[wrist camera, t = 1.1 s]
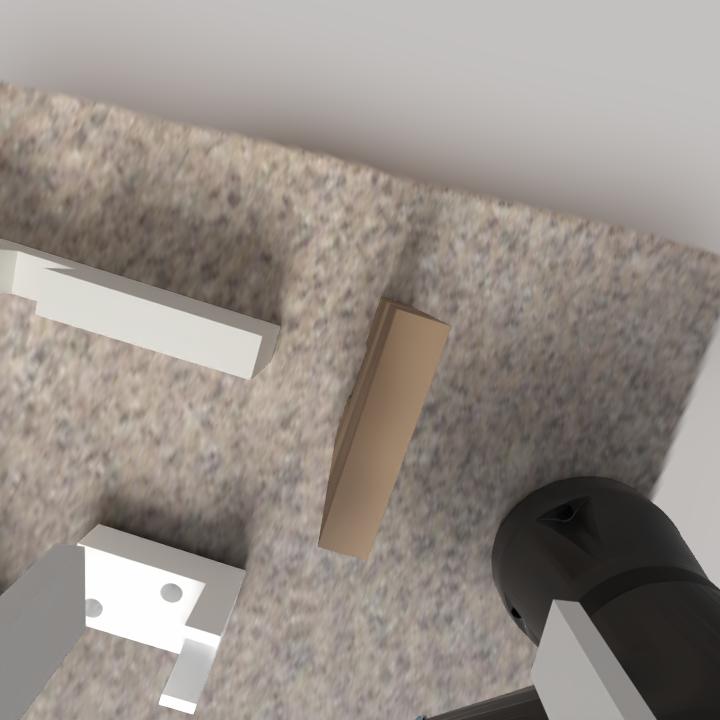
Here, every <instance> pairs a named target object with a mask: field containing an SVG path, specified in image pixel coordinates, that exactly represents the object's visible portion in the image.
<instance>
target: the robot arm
mask: <svg viewBox="0 0 720 720" xmlns="http://www.w3.org/2000/svg"><path fill="white" fill-rule="evenodd" d="M492 573H493V578H494V582H495V585H496V587H497V590H498V592H499V594H500V597H501V599H502V601H503V603H504V606H505V608H506V610H507V611H508V613H509V615H510V616H511V618H512V619H513V621H514V622H515V623H516V625H517V626H518V627H519V628H520V629H521V630H522V631H523V632H524V633H525V634H526V635H527V636H528V637H529V638H530V639H531V640H532V641H533V643H534V644H535V645H536V646H537V647H538V651H537V654H536V657H535V661H534V664H533V667H532V671H531V674H530V676H531V678H532V681H533V683H534V685H532V686H529V687H526V688H523V689H520V690H517V691H514V692H511V693H507V694H504V695H501V696H498V697H495V698H491V699H488V700H485V701H482V702H479V703H475V704H472V705H469V706H466V707H463V708H459V709H456V710H453V711H450V712H447V713H443V714H440V715H437V716H434V717H431V718H427V717H426V715H423V716H419V717H418V718H417V719H416V720H720V589H719V588H718V587H716V586H715V585H714V584H713V583H712V582H711V581H710V580H709V579H708V577H707V576H706V574H705V573H704V571H703V569H702V568H701V566H700V564H699V563H698V561H697V560H696V558H695V557H694V555H693V553H692V552H691V550H690V549H689V547H688V546H687V544H686V543H685V541H684V540H683V538H682V537H681V535H680V533H679V531H678V529H677V528H676V526H675V525H674V524H673V522H672V521H671V520H670V519H669V517H668V516H667V515H666V514H665V513H664V512H663V511H662V510H661V509H660V508H659V507H657V506H656V505H655V504H653V503H652V502H651V501H650V500H648V499H647V498H646V497H644V496H643V495H642V494H640V493H639V492H638V491H636V490H635V489H633V488H631V487H629V486H627V485H625V484H623V483H620V482H617V481H614V480H610V479H605V478H598V477H578V478H571V479H566V480H562V481H558V482H555V483H553V484H550V485H548V486H545V487H543V488H541V489H539V490H537V491H536V492H534V493H533V494H531V495H530V496H528V497H527V498H525V499H524V500H523V501H522V502H521V503H520V504H518V505H517V506H516V507H515V508H514V510H513V511H512V512H511V513H510V514H509V515H508V517H507V518H506V520H505V521H504V523H503V524H502V526H501V528H500V530H499V532H498V534H497V537H496V539H495V543H494V547H493V552H492ZM85 630H86V605H85V547H83V546H74V545H66V544H57V543H56V544H55V545H54V546H53V547H52V548H50V549H49V550H48V551H47V552H46V553H45V554H44V555H43V556H42V557H41V558H40V559H39V560H38V561H37V562H36V563H35V564H34V565H32V566H31V567H30V568H29V569H28V570H27V571H26V572H25V573H24V574H23V575H22V576H21V577H20V578H19V579H18V580H17V581H16V582H14V583H13V584H12V585H11V586H10V587H9V588H8V589H7V590H6V591H5V592H4V593H3V594H2V595H1V596H0V720H20V719H21V717H22V716H23V715H24V713H25V712H26V711H27V709H28V708H29V706H30V705H31V704H32V702H33V701H34V700H35V698H36V697H37V695H38V694H39V693H40V691H41V690H42V689H43V687H44V686H45V685H46V683H47V682H48V680H49V679H50V678H51V676H52V675H53V674H54V672H55V671H56V669H57V668H58V667H59V665H60V664H61V663H62V661H63V660H64V658H65V657H66V656H67V654H68V653H69V652H70V650H71V649H72V647H73V646H74V645H75V643H76V642H77V641H78V639H79V638H80V637H81V635H82V634H83V632H84V631H85Z"/></svg>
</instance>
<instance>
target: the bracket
mask: <svg viewBox="0 0 720 720" xmlns="http://www.w3.org/2000/svg"><path fill="white" fill-rule="evenodd" d="M77 546H83V547H85V605H86V626H89V627H92V628H95V629H98V630H102V631H105V632H108V633H112V634H115V635H118V636H122V637H125V638H128V639H132V640H135V641H138V642H142V643H145V644H148V645H151V646H155V647H158V648H161V649H165V650H168V651H171V652H175V653H178V654H179V656H178V659H177V661H176V664H175V666H174V669H173V671H172V673H171V675H170V678H169V680H168V682H167V684H166V687H165V689H164V691H163V693H162V695H161V699H160V702H159V704H160V705H163V706H166V707H170V708H173V709H177V710H180V711H183V712H187V713H190V714H193V713H194V711H195V708H196V706H197V703H198V700H199V698H200V695H201V693H202V690H203V688H204V685H205V683H206V680H207V677H208V675H209V672H210V670H211V667H212V665H213V662H214V659H215V657H216V654H217V652H218V649H219V647H220V644H221V641H222V639H223V636H224V634H225V631H226V628H227V626H228V623H229V620H230V617H231V614H232V611H233V608H234V606H235V603H236V600H237V596H238V593H239V591H240V588H241V585H242V582H243V579H244V576H245V573H246V571H245V570H242V569H239V568H236V567H233V566H229V565H226V564H223V563H220V562H217V561H214V560H211V559H207V558H204V557H201V556H198V555H195V554H192V553H189V552H185V551H182V550H179V549H176V548H173V547H170V546H167V545H163V544H160V543H157V542H154V541H151V540H148V539H144V538H141V537H138V536H135V535H132V534H129V533H126V532H122V531H119V530H116V529H113V528H110V527H107V526H104V525H100V524H98V525H97V526H96V527H95V528H94V529H92V530H91V531H90V532H89V533H88V534H87V535H86V536H85V537H84V538H83V539H81V540H80V541H79V542H78V543H77Z"/></svg>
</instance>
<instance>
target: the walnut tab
mask: <svg viewBox="0 0 720 720" xmlns="http://www.w3.org/2000/svg"><path fill="white" fill-rule="evenodd" d="M451 327H452V326H450V325H448V324H446V323H444V322H441V321H439V320H437V319H435V318H433V317H431V316H429V315H427V314H425V313H423V312H421V311H419V310H417V309H415V308H413V307H411V306H408V305H404V304H401V303H398V302H395V301H392V300H389V299H386V298H383V297H381V299H380V302H379V306H378V309H377V312H376V315H375V318H374V321H373V324H372V327H371V330H370V333H369V336H368V339H367V343H366V345H367V351H366V354H365V357H364V360H363V364H362V367H361V370H360V373H359V376H358V379H357V382H356V385H355V388H354V391H353V394H352V397H351V396H349V398H348V401H347V404H346V407H345V410H344V414H343V417H342V420H341V423H340V426H339V429H338V432H337V435H336V438H335V445H334V451H333V457H332V463H331V469H330V475H329V481H328V487H327V494H326V500H325V506H324V512H323V518H322V524H321V530H320V536H319V542H318V547H321V548H324V549H328V550H331V551H335V552H338V553H342V554H345V555H349V556H352V557H356V558H359V559H363V560H366V561H367V559H368V557H369V554H370V551H371V548H372V546H373V543H374V540H375V537H376V534H377V532H378V529H379V526H380V523H381V521H382V518H383V515H384V512H385V510H386V507H387V504H388V501H389V498H390V496H391V493H392V490H393V487H394V485H395V482H396V479H397V476H398V474H399V471H400V468H401V465H402V462H403V460H404V457H405V454H406V451H407V449H408V446H409V443H410V440H411V438H412V435H413V432H414V429H415V426H416V424H417V421H418V418H419V415H420V413H421V410H422V407H423V404H424V402H425V399H426V396H427V393H428V391H429V388H430V385H431V382H432V379H433V377H434V374H435V371H436V368H437V366H438V363H439V360H440V357H441V355H442V352H443V349H444V346H445V343H446V341H447V338H448V335H449V332H450V330H451Z"/></svg>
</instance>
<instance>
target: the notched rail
mask: <svg viewBox="0 0 720 720" xmlns="http://www.w3.org/2000/svg"><path fill="white" fill-rule="evenodd" d="M10 293H12V294H15V295H18V296H21V297H25V298H28V299H31V300H34V301H37V305H36V311H35V314H36V315H39V316H42V317H45V318H49V319H52V320H55V321H58V322H62V323H65V324H68V325H72V326H75V327H78V328H81V329H85V330H88V331H91V332H94V333H98V334H101V335H104V336H108V337H111V338H114V339H117V340H121V341H124V342H127V343H130V344H134V345H137V346H140V347H144V348H147V349H150V350H153V351H157V352H160V353H163V354H166V355H170V356H173V357H176V358H180V359H183V360H186V361H189V362H193V363H196V364H199V365H203V366H206V367H209V368H212V369H216V370H219V371H222V372H225V373H229V374H232V375H235V376H239V377H242V378H245V379H248V380H251V379H252V378H253V377H255V376H256V375H257V374H258V373H259V372H260V371H261V370H262V369H264V368H265V367H266V366H267V365H268V364H269V363H270V362H271V359H272V356H273V352H274V348H275V345H276V341H277V338H278V334H279V331H280V327H281V326H279V325H275V324H272V323H269V322H266V321H263V320H260V319H256V318H253V317H250V316H247V315H244V314H240V313H237V312H234V311H231V310H228V309H225V308H221V307H218V306H215V305H212V304H209V303H205V302H202V301H199V300H196V299H193V298H190V297H186V296H183V295H180V294H177V293H174V292H170V291H167V290H164V289H161V288H158V287H154V286H151V285H148V284H145V283H142V282H139V281H135V280H132V279H129V278H126V277H123V276H119V275H116V274H113V273H110V272H107V271H104V270H100V269H97V268H94V267H91V266H88V265H84V264H81V263H78V262H75V261H72V260H69V259H65V258H62V257H59V256H56V255H53V254H49V253H46V252H43V251H40V250H37V249H34V248H30V247H27V246H24V245H21V244H18V243H14V242H11V241H8V240H5V239H2V238H0V294H10Z"/></svg>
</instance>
